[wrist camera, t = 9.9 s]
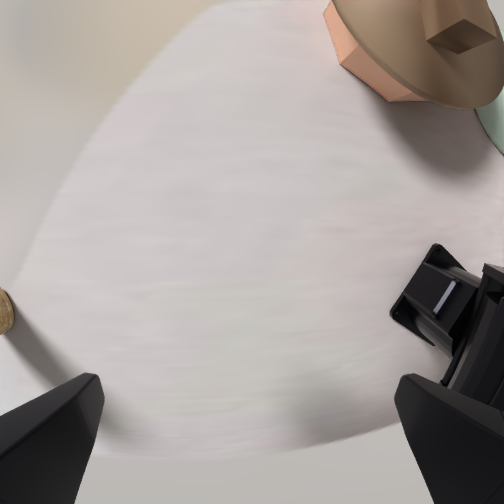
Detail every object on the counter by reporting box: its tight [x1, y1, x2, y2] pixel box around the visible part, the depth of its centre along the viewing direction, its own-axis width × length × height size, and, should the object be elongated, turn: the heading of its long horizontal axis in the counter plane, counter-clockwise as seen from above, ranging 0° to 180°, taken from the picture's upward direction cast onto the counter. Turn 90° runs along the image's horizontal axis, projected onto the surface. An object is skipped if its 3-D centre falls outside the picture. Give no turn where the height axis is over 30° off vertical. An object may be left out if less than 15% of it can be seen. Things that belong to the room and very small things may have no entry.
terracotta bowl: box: [323, 0, 428, 102], centre depth 14 cm, size 10×10×5 cm
